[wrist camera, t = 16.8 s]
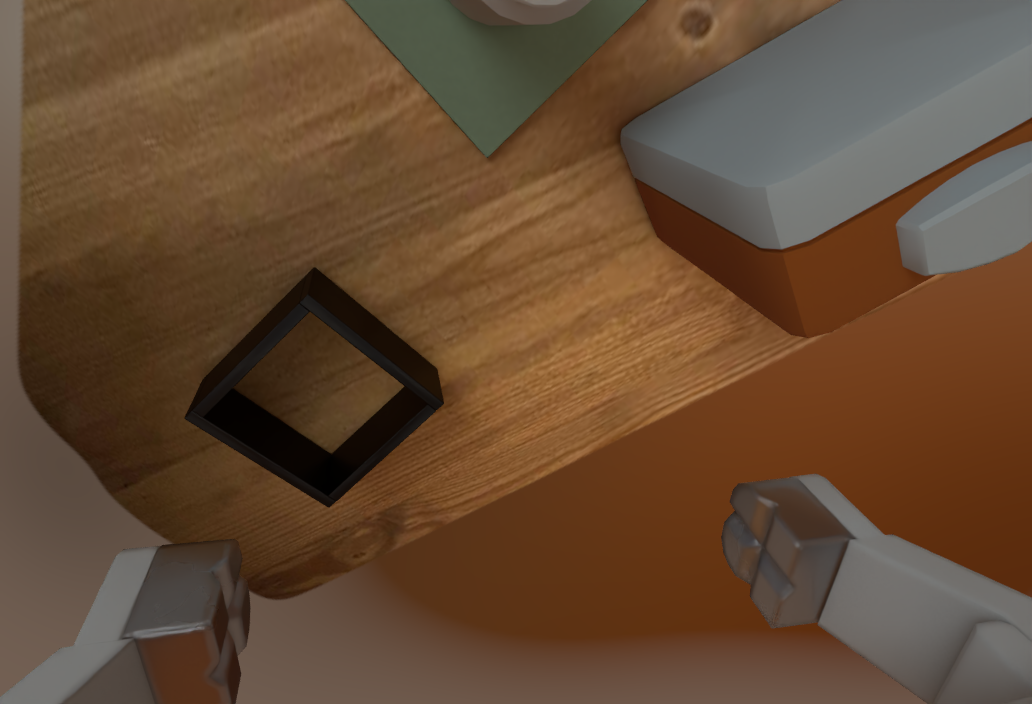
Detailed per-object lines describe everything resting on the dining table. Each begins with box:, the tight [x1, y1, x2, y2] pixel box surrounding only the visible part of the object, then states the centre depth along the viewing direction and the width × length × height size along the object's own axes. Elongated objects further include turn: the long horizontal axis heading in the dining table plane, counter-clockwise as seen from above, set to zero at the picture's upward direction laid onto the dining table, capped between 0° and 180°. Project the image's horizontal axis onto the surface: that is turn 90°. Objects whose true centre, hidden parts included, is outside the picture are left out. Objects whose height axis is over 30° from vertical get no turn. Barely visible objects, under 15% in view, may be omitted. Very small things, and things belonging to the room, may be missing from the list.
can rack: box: [185, 267, 444, 507], centre depth 43 cm, size 12×12×5 cm
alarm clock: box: [621, 0, 1032, 338], centre depth 34 cm, size 18×9×21 cm, turn 117°
